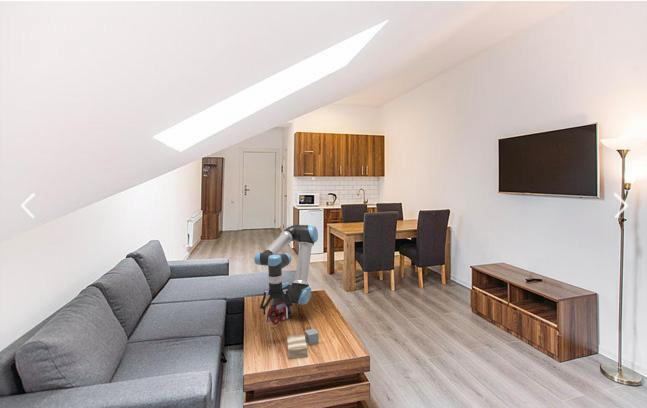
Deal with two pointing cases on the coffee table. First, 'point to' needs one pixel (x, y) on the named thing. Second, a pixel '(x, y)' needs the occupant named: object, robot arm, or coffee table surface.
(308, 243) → the robot arm
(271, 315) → the toy fire truck
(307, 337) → the slate cube
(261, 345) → the coffee table surface
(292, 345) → the maple block
